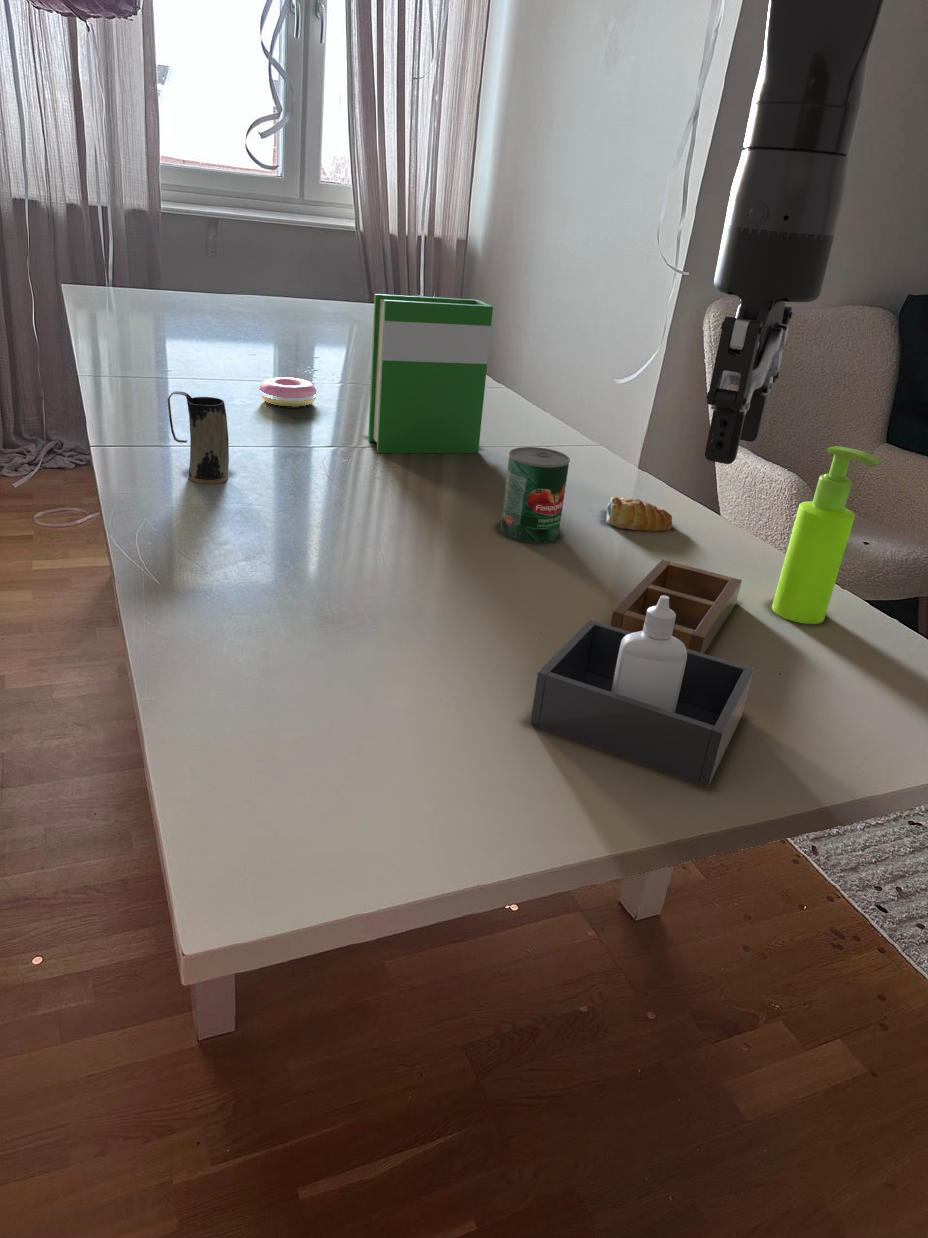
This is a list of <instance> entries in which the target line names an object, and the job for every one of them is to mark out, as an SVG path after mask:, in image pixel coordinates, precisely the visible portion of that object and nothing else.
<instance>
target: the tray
mask: <svg viewBox="0 0 928 1238" xmlns="http://www.w3.org/2000/svg"><path fill="white" fill-rule="evenodd" d="M741 586H742V579H740V578H735V577H732V576H728V575H724V574H721V573H716V572H713V571H708V570H706V569H702V568H698V567H693V566H690V565H685V564H682V563H678V562H674V561H670V560H667V559H663V558H662V559H660V560H659V562H658V563H657V564H656V565H655V566H654V567H652V569H651V570H650V571H649V572H648V573H647V574H646V575H645V576H644V577H643V578H642V579H641V581H639V583H638V584H636V586H635V587H634V588H633V589H632V590H631V591H630V592H629V594H627V596H625V598H624V599H623V600H622V601H621V602H620V603H619V604H618V605H617V606H616V607H615V608H614V609H613V611H612V614H611V618H610V624H609V626H613V627H616V628H619V629H623V630H626V631H629V632H633V633H634V632H639V631H643V627H644V622H645V617H646V612H647V609H648V608H649V607H652V606H656V605H657V603H658V601H659V599H660V596H662V595H665V596H668V597H669V609H671V610H673V611H674V612H675V614H676V618H675V622H677V623H681V624H683V625H688V626H690V627H694V628H696V629H692V628H689V627H685V626H683V625H679V624H675V623H674V628H673V632H672V636H673V637H675V638H677V639H679V640H680V641H682V642H683V643H684V645H685V647H686V649H690V650H693V651H697V652H700V653H703V654H706V652H707V650H708V648H709V647H710V645H711V644H712V643H713V641H714V640H715V638H716V636H717V634H718V633H719V632H720V630H721V628H722V626H723V625H724V624H725V622H726V620H727V619H728V617H729V615H730V614H731V612H732V611H733V610H734V607H735V606H736V605H737V601H738V597H739V593H740V590H741ZM643 613H645V614H643Z"/></svg>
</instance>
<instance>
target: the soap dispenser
mask: <svg viewBox="0 0 928 1238" xmlns="http://www.w3.org/2000/svg"><path fill="white" fill-rule="evenodd" d="M826 454H829V455H833V457H832V462H831V465H830V468H829V471H828V472H826V473H825V474H821V475H819V478H818V481H817V484H816V488H815V492H814V495H813V498H812V500H810V501H809V500H808V501H807V500H806V501H803V502H801V503H799V504H798V508H797V512H796V516H795V520H794V523H793V527H792V531H791V535H790V538H789V541H788V545H787V549H786V553H785V556H784V560H783V564H782V568H781V572H780V575H779V579H778V582H777V586H776V590H775V594H774V597H773V598H774V599H773V601H772V605H771V609H772V611H773V612H774V614H776V615H778V616H779V617H781V618H783V619H785V620H788V621H791V622H794V623H799V624H805V625H818V624H820V623H823V622H824V621H825V618H826V615H827V611H828V608H829V604H830V601H831V598H832V594H833V591H834V588H835V585H836V582H837V578H838V575H839V571H840V569H841V565H842V561H843V559H844V554H845V552H846V548H847V545H848V542H849V538H850V535H851V532H852V528H853V525H854V522H855V518H856V514H855V513H854V512H853V511H852V510H851V509H848V508H846V505H847V502H848V500H849V495H850V492H851V489H852V485H853V481H852V480H851V479H849V477H848V476H847V472H848V470H849V466H850V462H851V459H852V460H854V461H858V462H860V463H863V464H864V465H867V466H868V467H875V466H878V465H881V464H883V463H884V462H883V461H882V460H881V459H879V457H876V456H874V455H873V454H870V453H868V452H866V451H863V450H859V449H855V448H851V447H845V446H841V445H840V446H839V445H835V446H830V447H827V451H826Z"/></svg>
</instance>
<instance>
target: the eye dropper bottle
mask: <svg viewBox="0 0 928 1238" xmlns="http://www.w3.org/2000/svg"><path fill="white" fill-rule="evenodd" d="M645 616H646V617H645V622H644V627H643V631H639V632H634V633H631V634H628V635H626V636H625V637H624V638H623V639H622V641H621V644H620V649H619V653H618V658H617V663H616V669H615V674H614V679H613V684H612V689H611V692H613V693H616V694H619V695H622V696H625V697H628V698H631V699H634V700H637V701H640V702H643V703H646V704H649V705H652V706H655V707H659V708H662V709H665V710H668V711H671V712H674V713H675V710H676V705H677V701H678V697H679V692H680V688H681V683H682V679H683V675H684V670H685V665H686V660H687V650H686V647H685V645H684V643H683V642H682V641H680V640H679V639H677V638H675V637H673V636H672V632H673V628H674V624H675V622H676V621H675V618H676V614H675V612H674V611H673V610H671V609H669V597H668V596H665V595H662V596H660V599H659V601H658V603H657V605H656V606H652V607H649V608H648V609H647V612H646V613H645Z"/></svg>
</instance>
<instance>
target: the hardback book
mask: <svg viewBox="0 0 928 1238" xmlns="http://www.w3.org/2000/svg"><path fill="white" fill-rule="evenodd" d="M373 301H374V302H373V323H372V327H373V328H372V345H371V369H370V388H369V389H370V391H369V408H368V409H369V410H368V411H369V412H368V431H367V432H368V433H367V435H368V436H367V441H368V442H369V443H376V452H377V454H479V450H480V441H481V440H480V439H481V430H482V429H481V428H482V420H483V412H484V411H483V408H484V398H485V392H486V391H485V390H486V381H487V380H486V379H487V371H488V361H489V352H490V351H489V349H490V341H491V330H492V321H493V312H494V311H493V310H494V306H492V305H490V304H488V303H486V302H483V300H482V301H481V300H479V299H471V298H470V299H468V298H453V297H451V298H450V297H435V296H434V297H433V296H418V295H402V294H401V295H400V294H399V295H398V294H382V293H374V300H373Z"/></svg>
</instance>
